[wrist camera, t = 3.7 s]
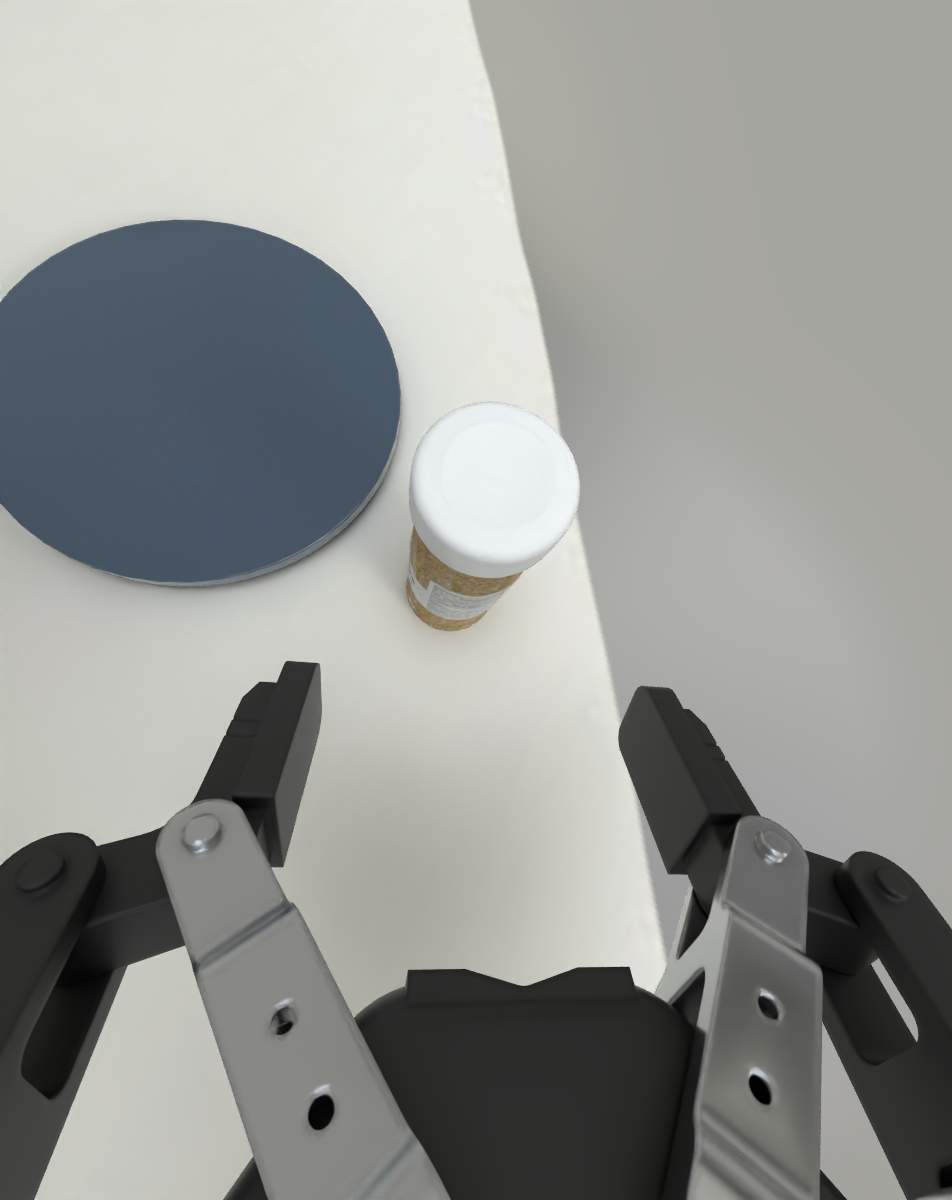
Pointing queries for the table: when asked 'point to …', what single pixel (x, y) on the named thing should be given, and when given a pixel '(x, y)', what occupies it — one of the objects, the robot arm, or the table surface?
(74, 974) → the robot arm
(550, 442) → the sprinkles bottle
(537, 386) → the table surface
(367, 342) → the plate
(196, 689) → the table surface
